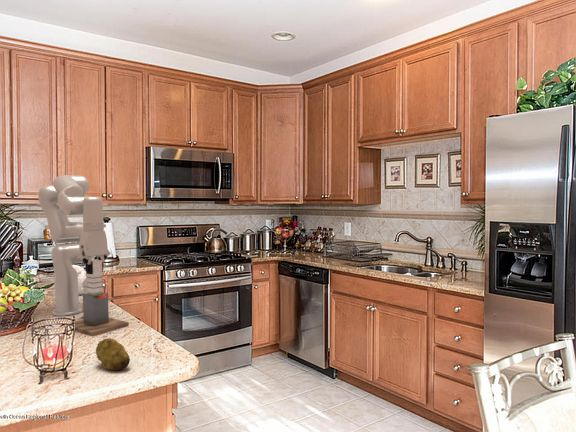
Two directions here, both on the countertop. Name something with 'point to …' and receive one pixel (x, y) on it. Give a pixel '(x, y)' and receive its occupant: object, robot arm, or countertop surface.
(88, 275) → the steel post
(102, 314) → the stand
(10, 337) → the countertop surface
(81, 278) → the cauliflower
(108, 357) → the potato
